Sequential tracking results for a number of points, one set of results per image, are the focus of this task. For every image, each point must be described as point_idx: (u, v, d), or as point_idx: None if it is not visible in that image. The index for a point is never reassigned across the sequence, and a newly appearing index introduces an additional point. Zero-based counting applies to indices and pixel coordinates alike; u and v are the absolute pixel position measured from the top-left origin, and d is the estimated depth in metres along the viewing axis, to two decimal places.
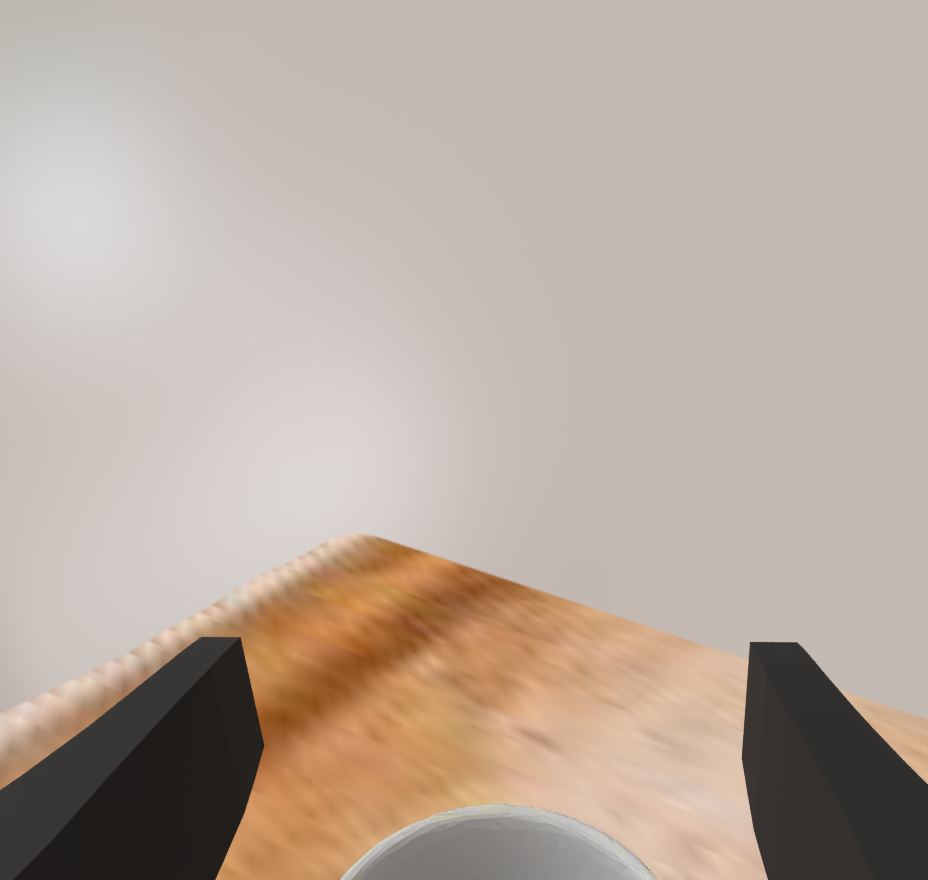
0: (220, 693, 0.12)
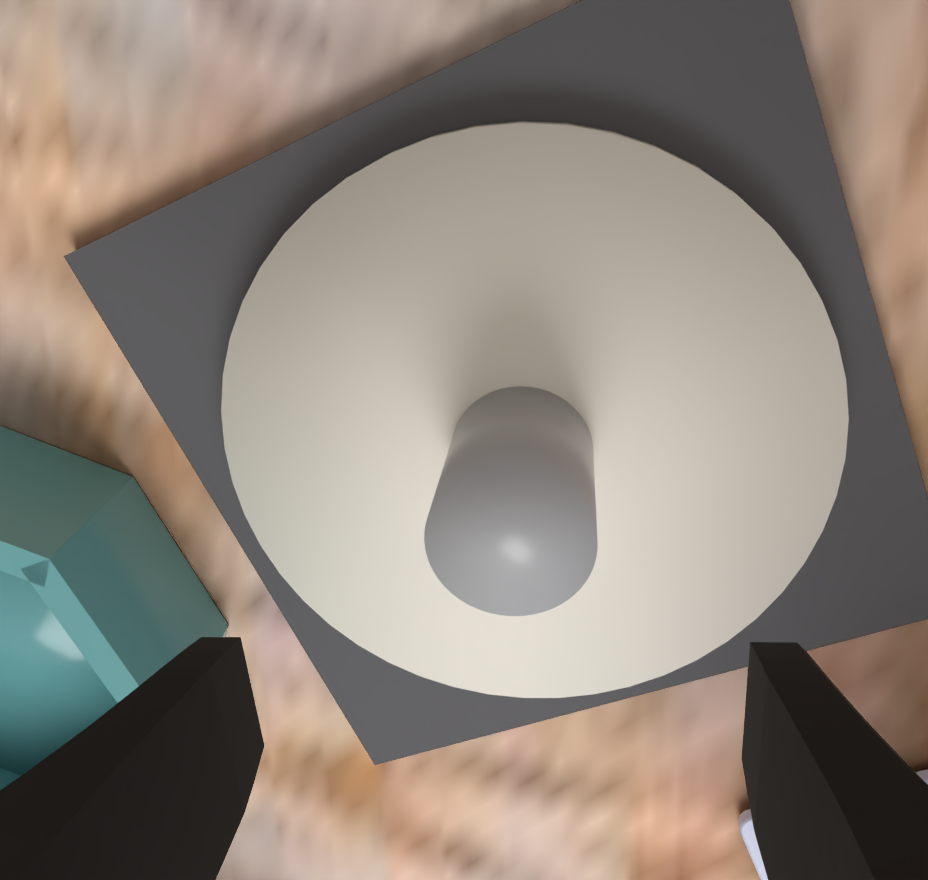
0: (220, 693, 0.12)
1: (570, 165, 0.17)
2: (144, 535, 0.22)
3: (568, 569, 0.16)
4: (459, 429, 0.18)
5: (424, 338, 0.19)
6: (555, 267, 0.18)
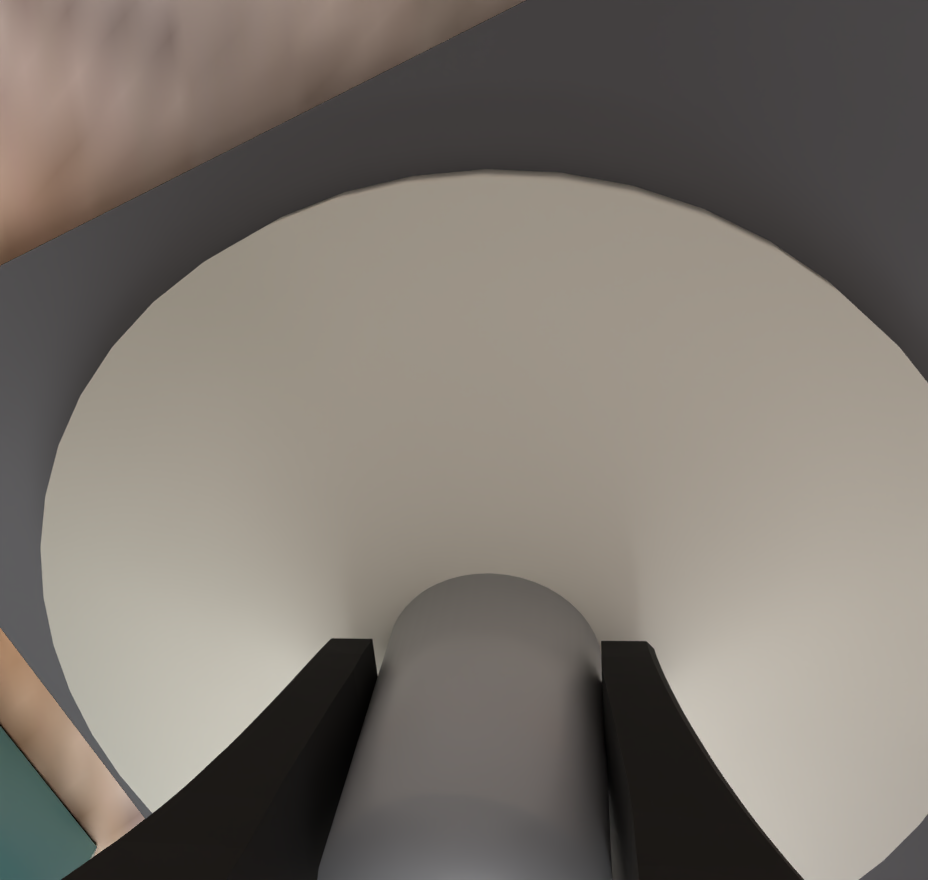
0: (359, 695, 0.11)
1: (566, 244, 0.10)
2: None
3: None
4: (393, 649, 0.12)
5: (339, 502, 0.12)
6: (542, 402, 0.11)
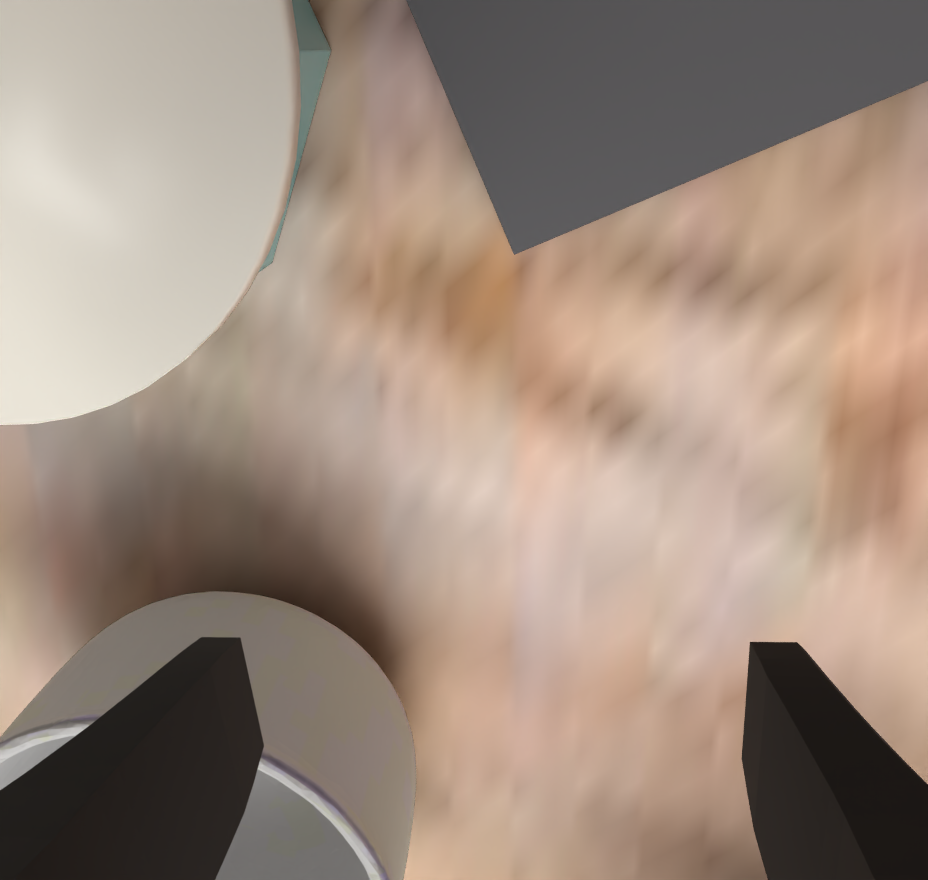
0: (220, 693, 0.12)
1: None
2: None
3: None
4: None
5: None
6: None
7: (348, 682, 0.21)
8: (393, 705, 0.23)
